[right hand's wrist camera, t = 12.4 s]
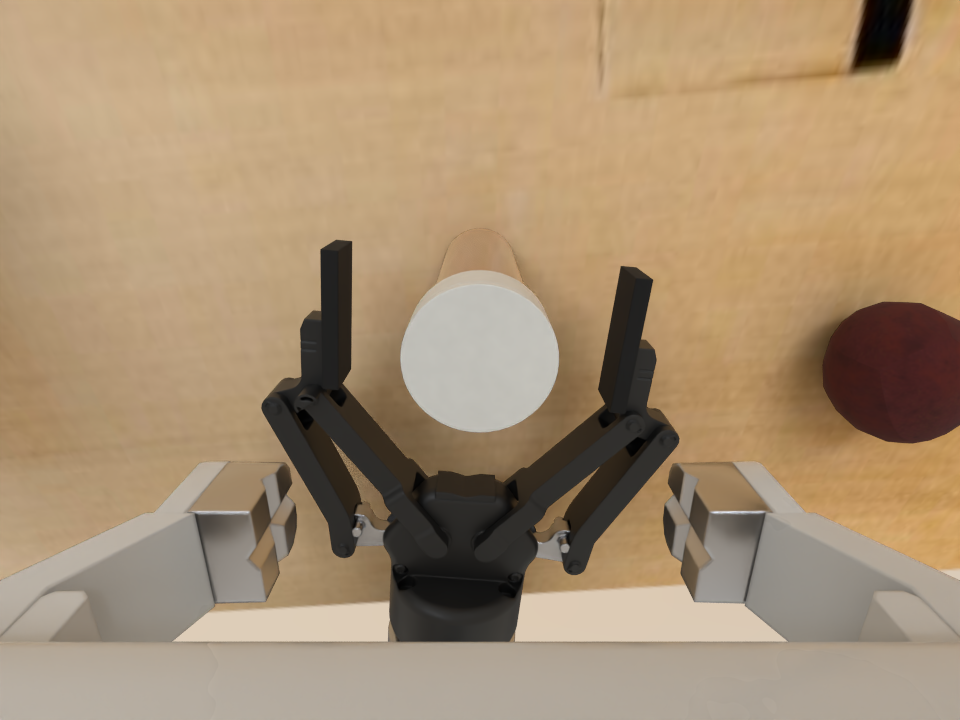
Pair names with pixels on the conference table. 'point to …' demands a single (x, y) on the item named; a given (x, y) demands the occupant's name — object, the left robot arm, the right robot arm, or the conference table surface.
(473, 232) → the tan cylinder
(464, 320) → the lid
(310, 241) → the conference table surface
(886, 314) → the dark brown oval lump
